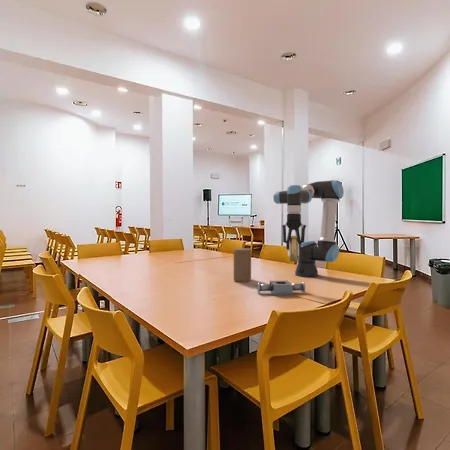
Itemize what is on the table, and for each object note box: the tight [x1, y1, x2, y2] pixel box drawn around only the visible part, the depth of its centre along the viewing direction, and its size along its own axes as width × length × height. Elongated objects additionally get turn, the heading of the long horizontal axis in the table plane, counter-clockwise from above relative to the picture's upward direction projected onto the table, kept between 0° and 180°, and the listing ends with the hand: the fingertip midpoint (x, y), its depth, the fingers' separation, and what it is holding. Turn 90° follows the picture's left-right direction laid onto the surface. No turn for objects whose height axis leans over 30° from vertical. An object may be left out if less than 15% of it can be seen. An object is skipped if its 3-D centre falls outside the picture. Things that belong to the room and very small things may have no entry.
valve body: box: [256, 280, 306, 297], centre depth 165 cm, size 25×10×6 cm, turn 93°
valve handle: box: [289, 235, 298, 263], centre depth 172 cm, size 5×5×14 cm
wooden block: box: [233, 247, 252, 283], centre depth 197 cm, size 10×10×20 cm
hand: (293, 255), depth 172 cm, fingers closed on valve handle, 4 cm apart
